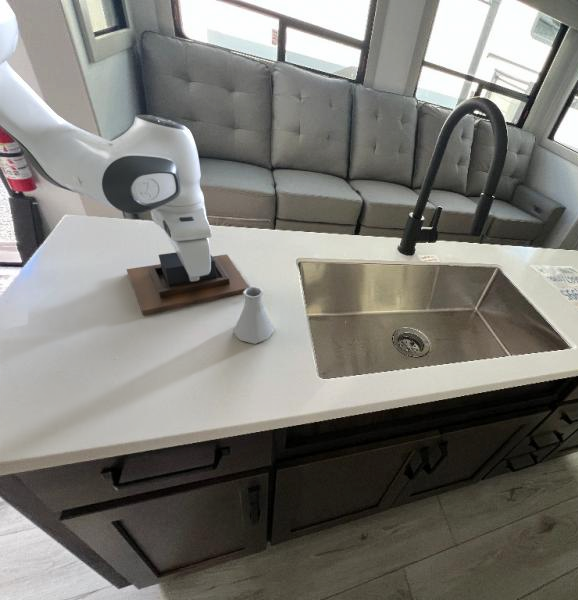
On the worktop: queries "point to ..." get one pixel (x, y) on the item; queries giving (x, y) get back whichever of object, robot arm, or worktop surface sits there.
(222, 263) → the back plate
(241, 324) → the flask
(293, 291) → the worktop surface
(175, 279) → the dark gray block
